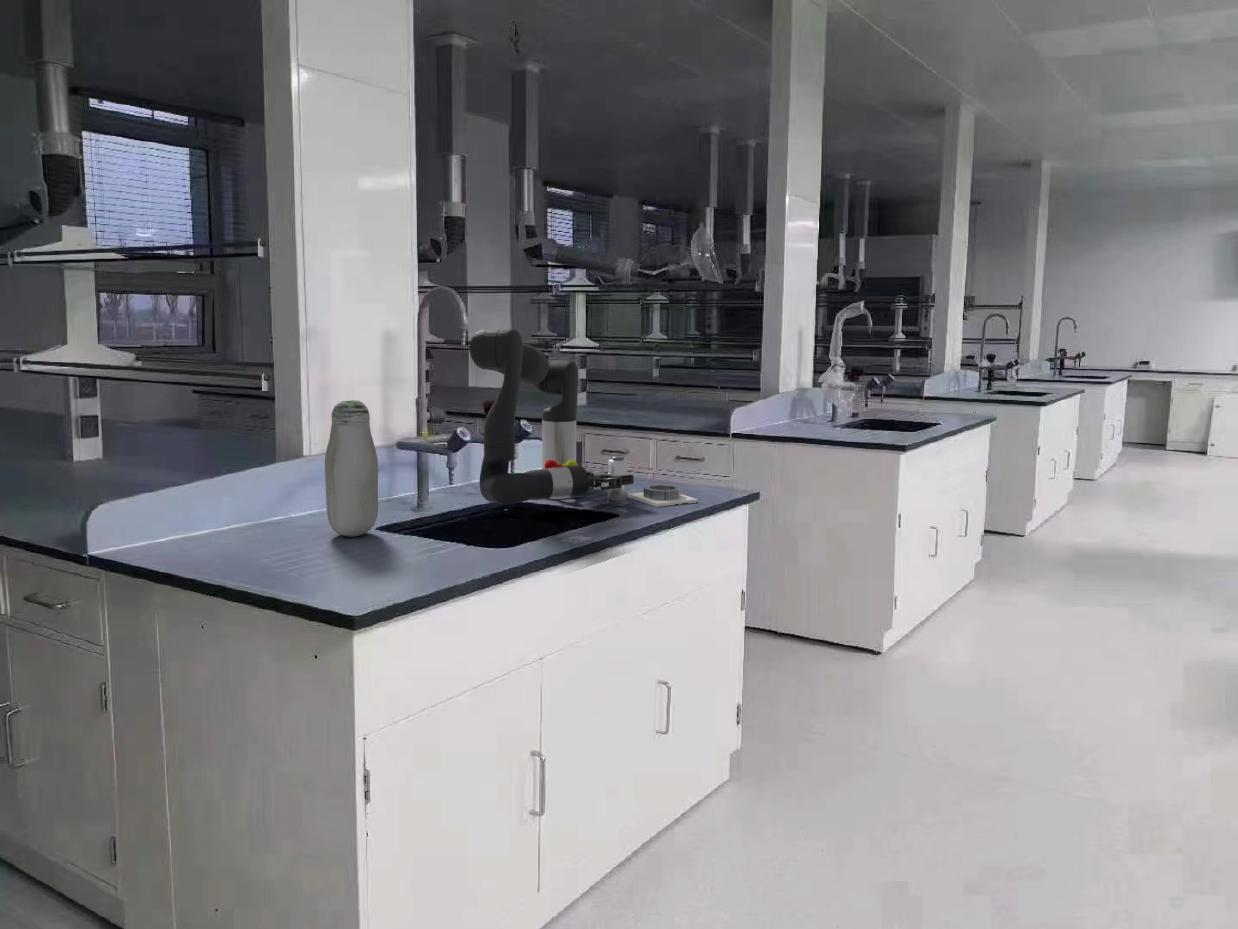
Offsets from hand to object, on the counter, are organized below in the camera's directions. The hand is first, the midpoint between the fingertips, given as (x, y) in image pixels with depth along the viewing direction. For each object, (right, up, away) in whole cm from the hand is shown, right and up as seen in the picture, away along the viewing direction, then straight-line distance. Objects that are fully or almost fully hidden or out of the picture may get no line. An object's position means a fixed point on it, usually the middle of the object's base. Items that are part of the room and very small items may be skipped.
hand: (625, 477), depth 237 cm
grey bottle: (-57, -12, -35) cm, 68 cm away
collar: (+9, -6, +6) cm, 12 cm away
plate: (+9, -6, +6) cm, 12 cm away
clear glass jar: (-2, -7, 0) cm, 7 cm away
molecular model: (-15, -5, +9) cm, 18 cm away
